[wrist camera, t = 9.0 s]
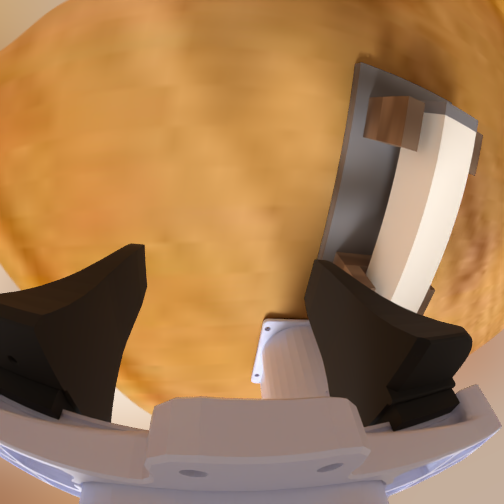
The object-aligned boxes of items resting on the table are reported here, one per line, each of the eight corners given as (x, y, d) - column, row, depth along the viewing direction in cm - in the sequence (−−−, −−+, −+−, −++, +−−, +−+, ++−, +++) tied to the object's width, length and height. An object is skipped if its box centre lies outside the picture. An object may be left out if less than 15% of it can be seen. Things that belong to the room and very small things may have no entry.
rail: (383, 304, 22) (404, 336, 18) (353, 304, 21) (372, 338, 18) (439, 114, 14) (478, 120, 11) (408, 100, 14) (446, 101, 10)
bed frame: (387, 302, 25) (415, 342, 20) (305, 300, 24) (323, 349, 19) (444, 102, 17) (494, 108, 11) (355, 64, 15) (398, 50, 10)
